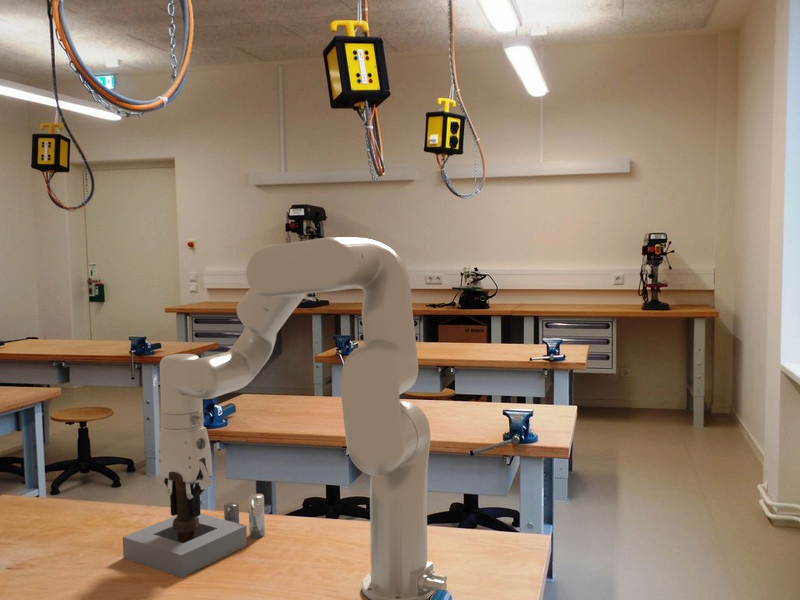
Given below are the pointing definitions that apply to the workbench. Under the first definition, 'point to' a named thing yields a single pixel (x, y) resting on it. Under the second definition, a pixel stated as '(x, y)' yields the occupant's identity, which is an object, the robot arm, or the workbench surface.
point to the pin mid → (256, 515)
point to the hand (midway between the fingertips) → (185, 514)
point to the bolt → (182, 511)
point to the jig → (184, 545)
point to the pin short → (231, 512)
